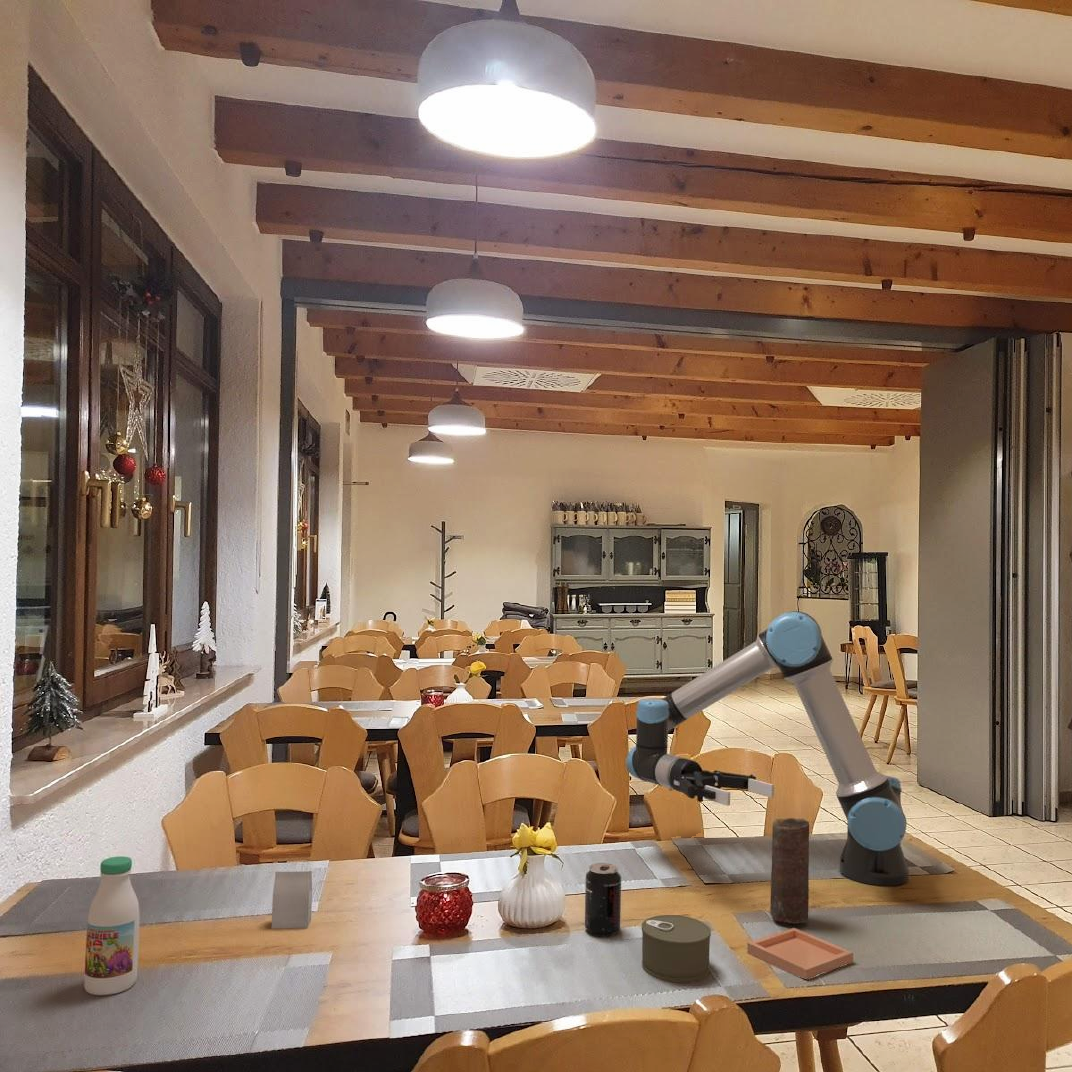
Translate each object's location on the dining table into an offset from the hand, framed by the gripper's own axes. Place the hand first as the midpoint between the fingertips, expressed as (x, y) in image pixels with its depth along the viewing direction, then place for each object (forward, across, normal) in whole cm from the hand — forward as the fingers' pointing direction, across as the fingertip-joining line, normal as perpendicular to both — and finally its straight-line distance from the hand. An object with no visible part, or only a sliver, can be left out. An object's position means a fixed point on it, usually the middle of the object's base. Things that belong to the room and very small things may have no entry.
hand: (751, 795), depth 183 cm
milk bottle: (-31, +117, -24) cm, 123 cm away
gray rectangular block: (-40, +84, -24) cm, 96 cm away
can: (+13, +34, -23) cm, 43 cm away
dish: (+22, +12, -23) cm, 34 cm away
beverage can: (-6, +35, -23) cm, 42 cm away
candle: (+10, 0, -23) cm, 25 cm away
